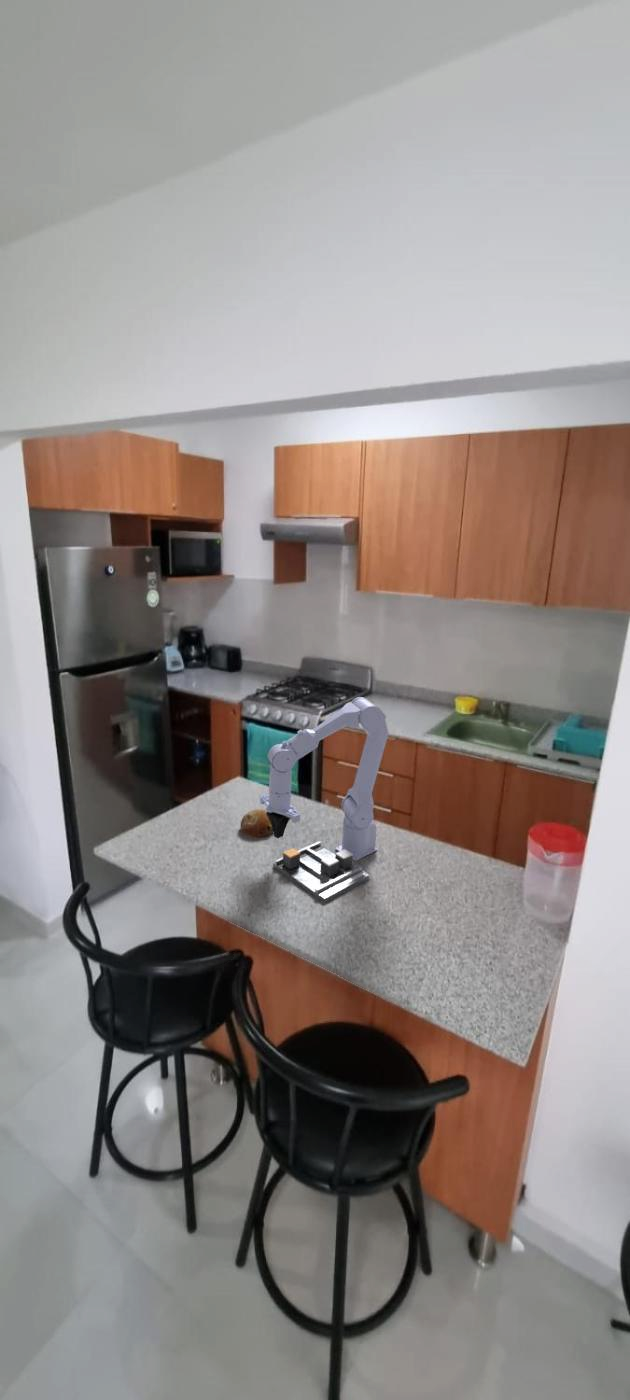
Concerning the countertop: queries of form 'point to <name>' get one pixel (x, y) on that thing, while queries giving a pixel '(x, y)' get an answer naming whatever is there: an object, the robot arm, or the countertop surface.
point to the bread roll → (256, 823)
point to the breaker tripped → (291, 858)
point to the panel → (321, 874)
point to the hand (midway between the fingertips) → (278, 836)
